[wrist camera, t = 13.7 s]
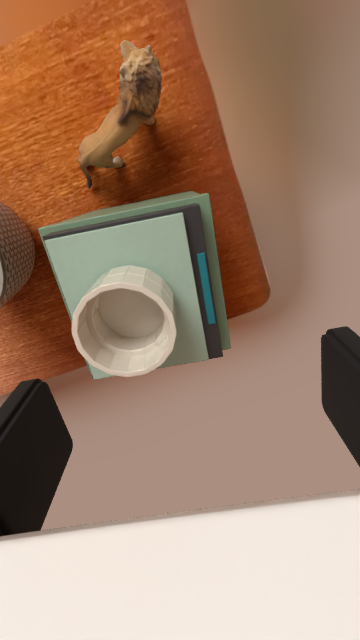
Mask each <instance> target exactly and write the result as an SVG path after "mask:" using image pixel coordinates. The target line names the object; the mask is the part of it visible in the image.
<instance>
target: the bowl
mask: <svg viewBox="0 0 360 640" xmlns="http://www.w3.org/2000/svg"><path fill="white" fill-rule="evenodd" d="M71 333H72V336H73V339H74V341H75V344H76V347H77V350H78V351H79V352H80V354H81V355H82V356H83V357H84V358H85V359H86V360H87V361H88V362H89V363H90V364H91V365H92V366H94V367H96V368H98V369H99V370H101V371H103V372H105V373H107V374H111V375H117V376H123V377H131V376H137V375H143V374H147V373H149V372H150V371H152V370H154V369H155V368H157V367H159V366H161V365H162V364H163V363H164V361H165V360H166V359H167V357H168V356H169V355H170V353H171V352H172V351H173V348H174V343H175V339H176V334H177V321H176V304H175V300H174V295H173V292H172V290H171V289H170V288H169V286H168V285H167V283H166V282H165V280H164V279H163V278H162V277H160V276H159V275H157V274H155V273H154V272H152V271H151V270H149V269H147V268H142V267H137V266H132V265H128V266H122V267H117V268H113V269H111V270H109V271H108V272H106V273H105V274H103V275H102V276H100V277H99V278H98V279H97V280H96V282H95V283H94V284H93V285H92V287H91V288H90V289H89V290H88V291H87V293H86V294H85V295H84V296H83V298H82V299H81V301H80V303H79V304H78V306H77V308H76V309H75V311H74V313H73V318H72V330H71Z"/></svg>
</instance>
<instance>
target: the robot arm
mask: <svg viewBox="0 0 360 640" xmlns="http://www.w3.org/2000/svg"><path fill="white" fill-rule="evenodd" d="M321 369H322V370H321V371H322V405H323V408H324V411H325V413H326V414H327V416H328V418H329V419H330V420H331V422H332V424H333V426H334V427H335V429H336V430H337V432H338V433H339V435H340V436H341V438H342V439H343V441H344V443H345V444H346V446H347V448H348V449H349V451H350V452H351V454H352V455H353V457H354V459H355V460H356V462H357V463H358V465H359V466H360V337H359V336H358V335H357V334H356V333H355V332H353V331H352V330H351V329H350V328H348V327H340V328H334V329H329V330H327V332H326V334H325V335H322V337H321ZM72 447H73V443H72V439H71V436H70V434H69V432H68V430H67V428H66V425H65V423H64V420H63V419H62V416H61V414H60V411H59V409H58V407H57V405H56V402H55V400H54V398H53V395H52V393H51V391H50V389H49V386H48V384H47V383H45V382H42V381H41V380H40V379H33V380H28V381H22V382H20V383H19V385H18V386H17V387H16V388H15V390H14V391H13V392H12V393H11V395H10V396H9V397H8V399H7V400H6V401H5V402H4V404H3V405H2V406H1V407H0V640H360V490H350V491H341V492H332V493H323V494H315V495H307V496H299V497H291V498H284V499H276V500H268V501H260V502H252V503H244V504H237V505H228V506H220V507H212V508H205V509H197V510H189V511H182V512H174V513H167V514H159V515H152V516H144V517H136V518H129V519H122V520H114V521H107V522H100V523H92V524H85V525H78V526H70V527H63V528H56V529H49V530H42V531H40V530H41V527H42V525H43V522H44V520H45V517H46V515H47V512H48V510H49V507H50V505H51V502H52V500H53V497H54V495H55V492H56V490H57V487H58V485H59V482H60V480H61V477H62V474H63V472H64V469H65V467H66V464H67V462H68V459H69V457H70V454H71V452H72Z"/></svg>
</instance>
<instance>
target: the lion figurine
mask: <svg viewBox="0 0 360 640" xmlns="http://www.w3.org/2000/svg"><path fill="white" fill-rule="evenodd" d="M120 47H121V55H122V57H123V64H122V67H121V68H120V70H119V73H120V86H119V90H120V95H119V97H118V99H117V104H116V105H115V106H114V107H113V108H112V109H111V111H110V112H109V113H108V115H107V116H106V118H105V119H104V121H103V123H102V125H101V126H100V128H99V129H98V131H97V132H95V133H94V134H91V135H89V136H87V137H85V138H84V139H83V141H82V143H81V144H80V146H79V153H80V157H79V158H78V162H79V163H80V168H81V170H82V171H83V172H84V174H85V175H86V178H87V187H88V188H89V189H90V188H91V185H92V179H91V176H90V174H89V172H88V170H87V168H86V167H87V166H88V165H92V166H95V167H105V168H119V167H121V166H122V165H123V160H122V159H121V158H120V157H116V158H114V159H113V157H112V155H111V153H112V152H113V151H114V150H115V149H117V148H118V147H120V146H122V145H123V144H124V143H126V142H127V141H128V139H129V138H130V137H131V136H132V135H133V134H134V133H135V132H136V131H137V129H138V128H139V126H140V124H145V125H152V124H154V122H155V118H154V113H155V111H156V109H158V104H159V98H160V94H161V80H162V76H161V71H160V67H161V66H160V64H159V59H158V58H156V57H155V56H154V54H153V52H152V50H151V46H149V45H148V46H147V47H145V48H144V49H143V48H141V49H140V48H138V47H135V46H134V44H132V43H131V42H129V41H127V40H124V41H122V42H121V45H120Z"/></svg>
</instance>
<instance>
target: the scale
mask: <svg viewBox="0 0 360 640" xmlns="http://www.w3.org/2000/svg"><path fill="white" fill-rule="evenodd" d="M42 238H43V240H44V243H45V246H46V249H47V252H48V254H49V257H50V260H51V263H52V266H53V268H54V271H55V274H56V277H57V279H58V282H59V285H60V288H61V291H62V293H63V296H64V299H65V302H66V304H67V307H68V310H69V313H70V316H71V318H73V313H74V311H75V309H76V308H77V306H78V304H79V303H80V301H81V299H82V298H83V296H84V295H85V294H86V293H87V291H88V290H89V289H90V288H91V287H92V285H93V284H94V283H95V282H96V280H97V279H98V278H99V277H100V276H102V275H103V274H105V273H106V272H108V271H109V270H111V269H113V268H117V267H122V266H128V265H132V266H137V267H142V268H147V269H149V270H151V271H152V272H154V273H155V274H157V275H159V276H160V277H162V278H163V279H164V280H165V282H166V283H167V285H168V286H169V288H170V289H171V290H172V292H173V295H174V300H175V304H176V321H177V334H176V339H175V343H174V348H173V351H172V352H171V353H170V355H169V356H168V357H167V359H166V360H165V361H164V363H163V364H162V365H161V366H159V367H157V368H163V367H169V366H175V365H181V364H187V363H192V362H198V361H204V360H208V359H212V358H217V357H222V356H223V353H222V347H221V340H220V334H219V327H218V321H217V314H216V308H215V302H214V295H213V289H212V282H211V276H210V269H209V263H208V257H207V250H206V244H205V237H204V231H203V224H202V218H201V212H200V205H199V204H198V203H195V204H190V205H185V206H180V207H175V208H170V209H165V210H160V211H155V212H150V213H145V214H141V215H136V216H131V217H126V218H121V219H116V220H111V221H106V222H101V223H96V224H91V225H86V226H82V227H77V228H72V229H67V230H62V231H57V232H52V233H49V234H47V235H44V236H42ZM87 363H88V366H89V368H90V371H91V374H92V377H93V379H100V378H106V377H112V376H117V375H111V374H107V373H105V372H103V371H101V370H99V369H98V368H96V367H94V366H92V365H91V364H90V363H89V362H88V361H87ZM157 368H155V369H157Z"/></svg>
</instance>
